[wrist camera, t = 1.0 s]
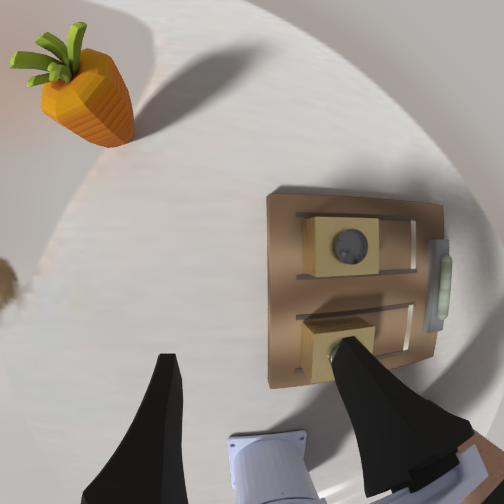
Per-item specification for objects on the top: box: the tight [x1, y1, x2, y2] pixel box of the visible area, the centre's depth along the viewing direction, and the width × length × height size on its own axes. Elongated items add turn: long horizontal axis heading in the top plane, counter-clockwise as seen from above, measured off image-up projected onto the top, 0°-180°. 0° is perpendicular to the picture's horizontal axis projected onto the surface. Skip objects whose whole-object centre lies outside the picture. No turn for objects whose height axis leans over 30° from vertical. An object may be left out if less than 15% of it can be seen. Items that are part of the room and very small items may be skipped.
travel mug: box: [427, 400, 504, 504], centre depth 15 cm, size 8×8×20 cm
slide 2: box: [301, 317, 375, 383], centre depth 20 cm, size 4×5×4 cm
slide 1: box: [303, 217, 379, 277], centre depth 19 cm, size 4×5×4 cm
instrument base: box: [267, 194, 452, 389], centre depth 21 cm, size 16×18×4 cm
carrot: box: [10, 22, 135, 148], centre depth 13 cm, size 5×5×15 cm
